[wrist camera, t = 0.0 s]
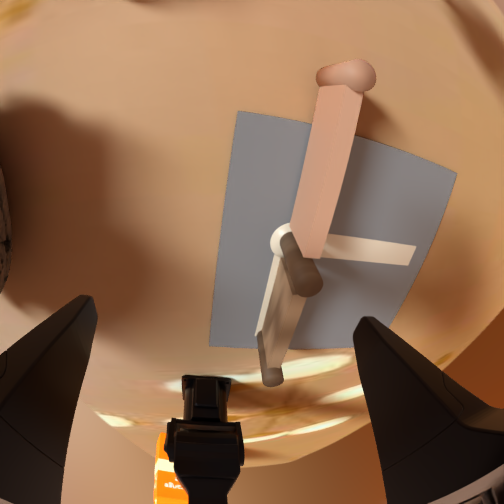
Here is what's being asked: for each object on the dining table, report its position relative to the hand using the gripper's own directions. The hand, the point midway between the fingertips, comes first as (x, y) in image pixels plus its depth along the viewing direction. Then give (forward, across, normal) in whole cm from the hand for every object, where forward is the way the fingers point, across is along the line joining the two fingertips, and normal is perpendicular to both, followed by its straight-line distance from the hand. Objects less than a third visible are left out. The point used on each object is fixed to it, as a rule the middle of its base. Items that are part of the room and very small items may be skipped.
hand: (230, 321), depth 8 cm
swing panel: (+14, -6, -4) cm, 16 cm away
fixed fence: (+15, -6, +10) cm, 19 cm away
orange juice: (+15, +5, +53) cm, 56 cm away
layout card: (+15, -11, +6) cm, 19 cm away
